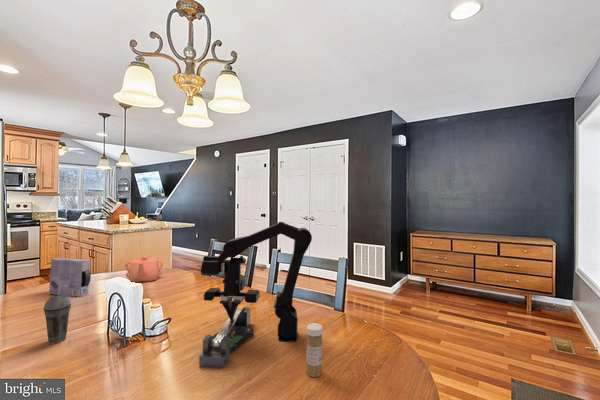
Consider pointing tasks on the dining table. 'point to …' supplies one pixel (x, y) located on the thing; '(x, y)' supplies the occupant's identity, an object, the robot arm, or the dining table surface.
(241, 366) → the dining table surface
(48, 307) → the beverage cup
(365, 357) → the dining table surface
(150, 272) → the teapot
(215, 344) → the long grey bar
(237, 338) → the disk drive
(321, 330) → the sprinkles bottle
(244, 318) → the bracket
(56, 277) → the cake pan box
